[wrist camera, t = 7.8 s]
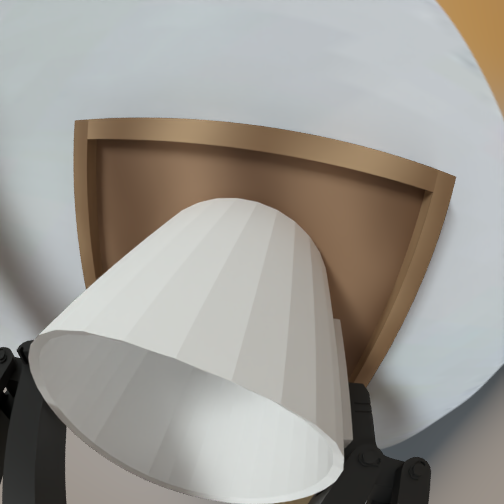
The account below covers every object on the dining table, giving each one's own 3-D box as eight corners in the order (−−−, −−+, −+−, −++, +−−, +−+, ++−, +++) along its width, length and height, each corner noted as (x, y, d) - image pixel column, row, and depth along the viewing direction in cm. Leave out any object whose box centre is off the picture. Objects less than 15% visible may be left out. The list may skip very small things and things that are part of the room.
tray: (119, 357, 20) (108, 373, 19) (98, 118, 13) (74, 120, 11) (337, 406, 19) (338, 427, 17) (437, 169, 11) (456, 176, 9)
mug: (212, 154, 12) (41, 226, 3) (364, 278, 13) (415, 458, 5) (115, 314, 17) (33, 419, 8) (226, 389, 18) (190, 509, 10)
